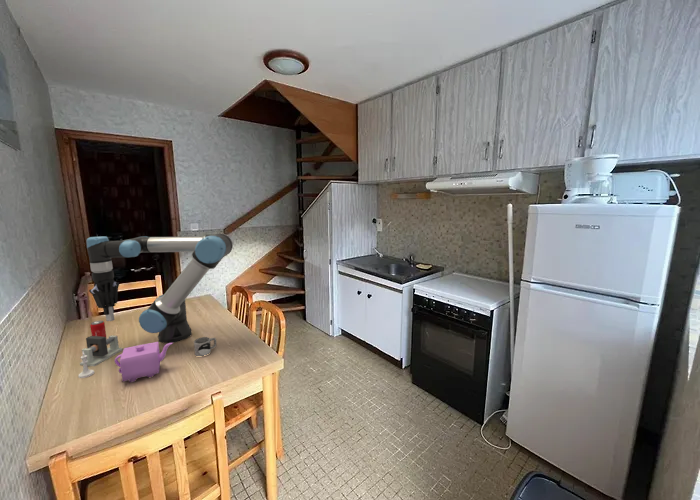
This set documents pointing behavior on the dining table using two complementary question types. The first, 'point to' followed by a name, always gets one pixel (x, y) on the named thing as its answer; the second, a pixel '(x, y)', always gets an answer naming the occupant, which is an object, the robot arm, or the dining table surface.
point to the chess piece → (85, 368)
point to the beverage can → (98, 328)
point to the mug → (203, 346)
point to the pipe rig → (98, 359)
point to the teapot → (140, 361)
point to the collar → (101, 344)
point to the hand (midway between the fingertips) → (110, 320)
